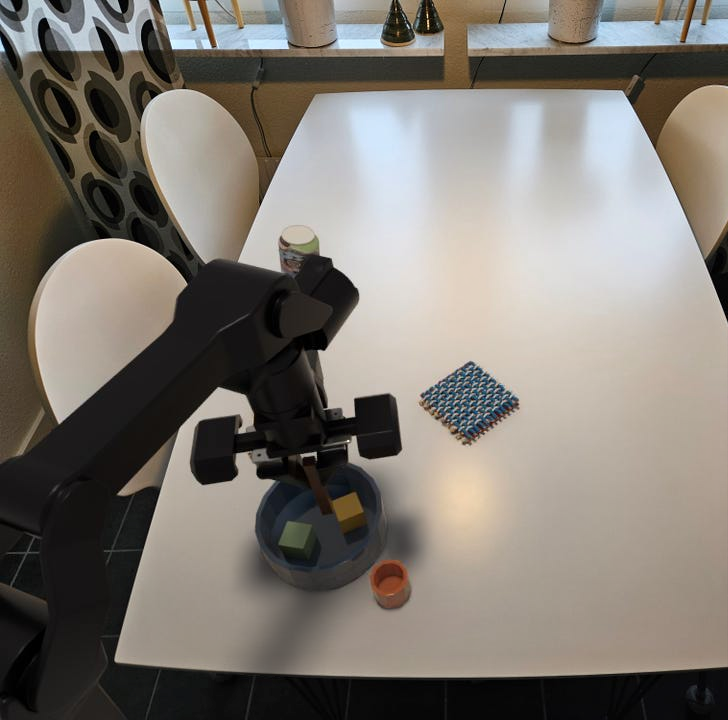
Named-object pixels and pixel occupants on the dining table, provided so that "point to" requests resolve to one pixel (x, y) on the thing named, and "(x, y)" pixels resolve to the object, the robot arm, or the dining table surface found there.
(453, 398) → the woven mat
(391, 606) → the holder
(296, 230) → the beverage can
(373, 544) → the bowl
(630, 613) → the dining table surface
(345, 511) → the mustard block
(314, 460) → the stick
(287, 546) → the sage block
